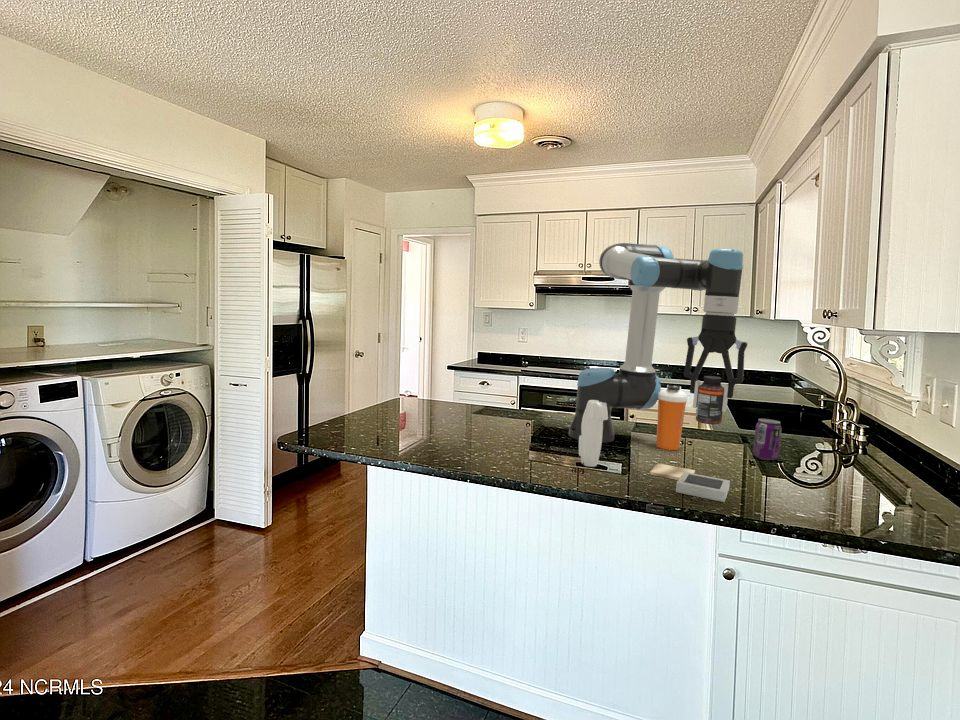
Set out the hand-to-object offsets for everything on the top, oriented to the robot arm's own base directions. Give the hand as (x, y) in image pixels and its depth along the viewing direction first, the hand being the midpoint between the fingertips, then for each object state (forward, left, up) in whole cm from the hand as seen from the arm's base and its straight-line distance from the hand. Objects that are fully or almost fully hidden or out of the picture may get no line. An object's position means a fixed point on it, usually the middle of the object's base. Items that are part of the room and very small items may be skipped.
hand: (709, 408), depth 137 cm
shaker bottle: (-15, +39, -21) cm, 47 cm away
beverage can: (+13, +47, -21) cm, 53 cm away
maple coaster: (-8, +9, -21) cm, 24 cm away
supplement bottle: (0, 0, -4) cm, 4 cm away
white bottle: (-29, +2, -21) cm, 36 cm away
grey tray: (+1, -1, -21) cm, 21 cm away
